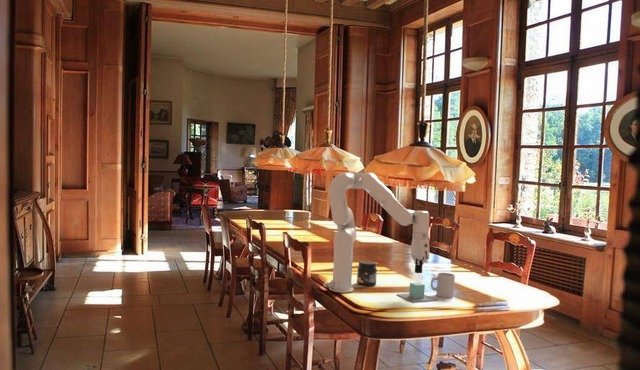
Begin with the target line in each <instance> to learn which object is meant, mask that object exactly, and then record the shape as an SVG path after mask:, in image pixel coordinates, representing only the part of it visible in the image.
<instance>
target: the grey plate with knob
mask: <svg viewBox="0 0 640 370" xmlns="http://www.w3.org/2000/svg"><path fill="white" fill-rule="evenodd" d="M396 296H397V297H400V298H401V299H404V300H406V301H409V302H410V303H413V304H414V303H425V302H427V303H428V302H437V301H438V299H436V298H434V297H431V296H428V295H426V294H424V298H418V299H415V298H412V297H410V296H409V293H399V294H398V293H397V294H396Z"/></svg>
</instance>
